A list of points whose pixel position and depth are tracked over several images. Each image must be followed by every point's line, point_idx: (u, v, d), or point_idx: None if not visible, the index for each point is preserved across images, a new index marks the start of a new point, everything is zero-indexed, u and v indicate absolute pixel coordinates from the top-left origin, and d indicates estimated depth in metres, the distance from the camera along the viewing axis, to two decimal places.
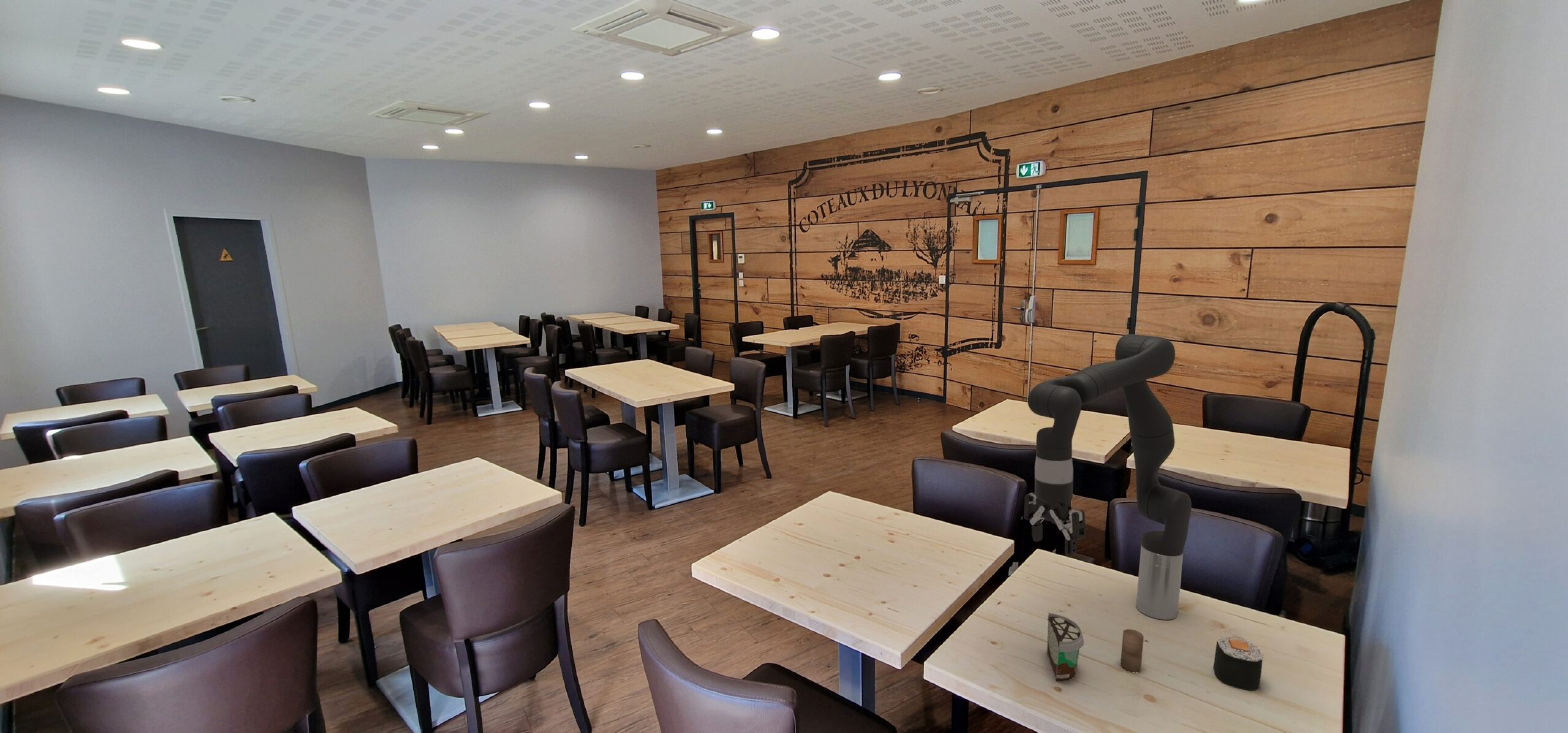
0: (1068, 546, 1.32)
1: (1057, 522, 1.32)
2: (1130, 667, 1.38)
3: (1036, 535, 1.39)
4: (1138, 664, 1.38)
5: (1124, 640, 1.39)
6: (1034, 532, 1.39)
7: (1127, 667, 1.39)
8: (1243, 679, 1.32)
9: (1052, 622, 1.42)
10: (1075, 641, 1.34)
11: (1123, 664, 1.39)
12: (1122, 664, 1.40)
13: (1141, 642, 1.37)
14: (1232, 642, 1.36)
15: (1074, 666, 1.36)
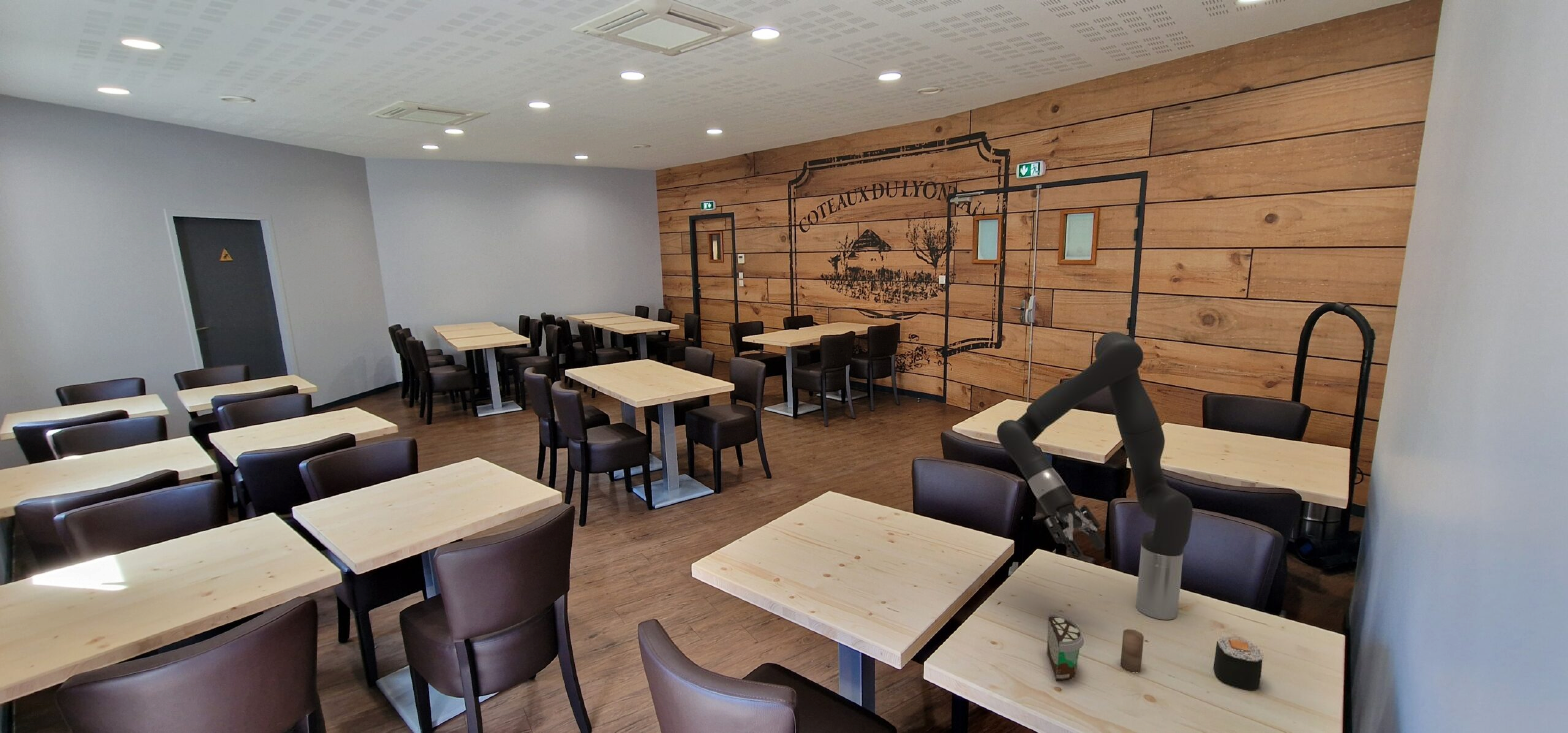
0: None
1: None
2: (1130, 667, 1.38)
3: (1094, 543, 1.49)
4: (1138, 664, 1.38)
5: (1124, 640, 1.39)
6: None
7: (1127, 667, 1.39)
8: (1243, 679, 1.32)
9: (1052, 622, 1.42)
10: (1075, 641, 1.34)
11: (1123, 664, 1.39)
12: (1122, 664, 1.40)
13: (1141, 642, 1.37)
14: (1232, 642, 1.36)
15: (1074, 666, 1.36)
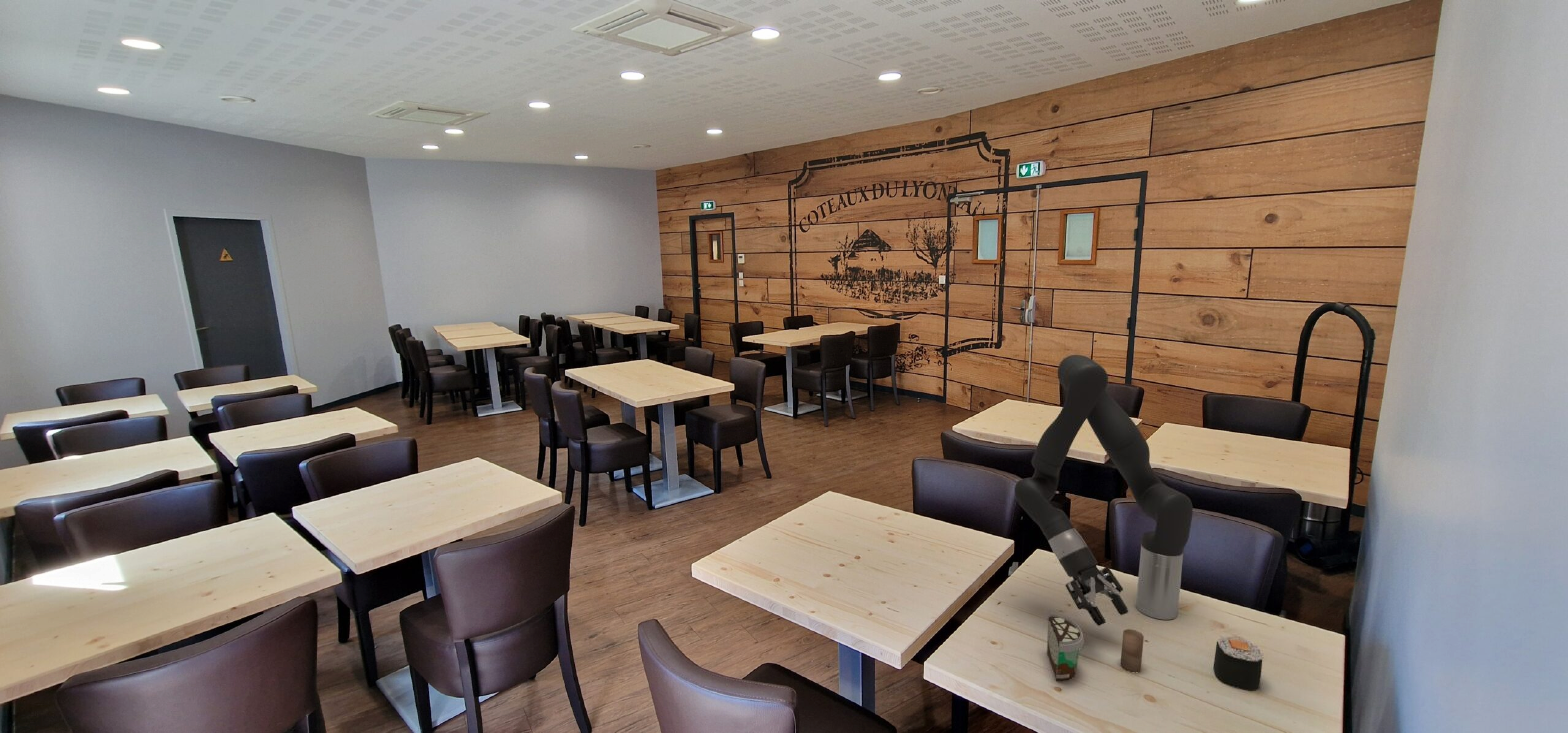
0: None
1: None
2: (1130, 667, 1.38)
3: (1116, 608, 1.46)
4: (1138, 664, 1.38)
5: (1124, 640, 1.39)
6: None
7: (1127, 667, 1.39)
8: (1243, 678, 1.32)
9: (1052, 622, 1.42)
10: (1075, 641, 1.34)
11: (1123, 664, 1.39)
12: (1122, 664, 1.40)
13: (1141, 642, 1.37)
14: (1232, 642, 1.36)
15: (1074, 666, 1.36)
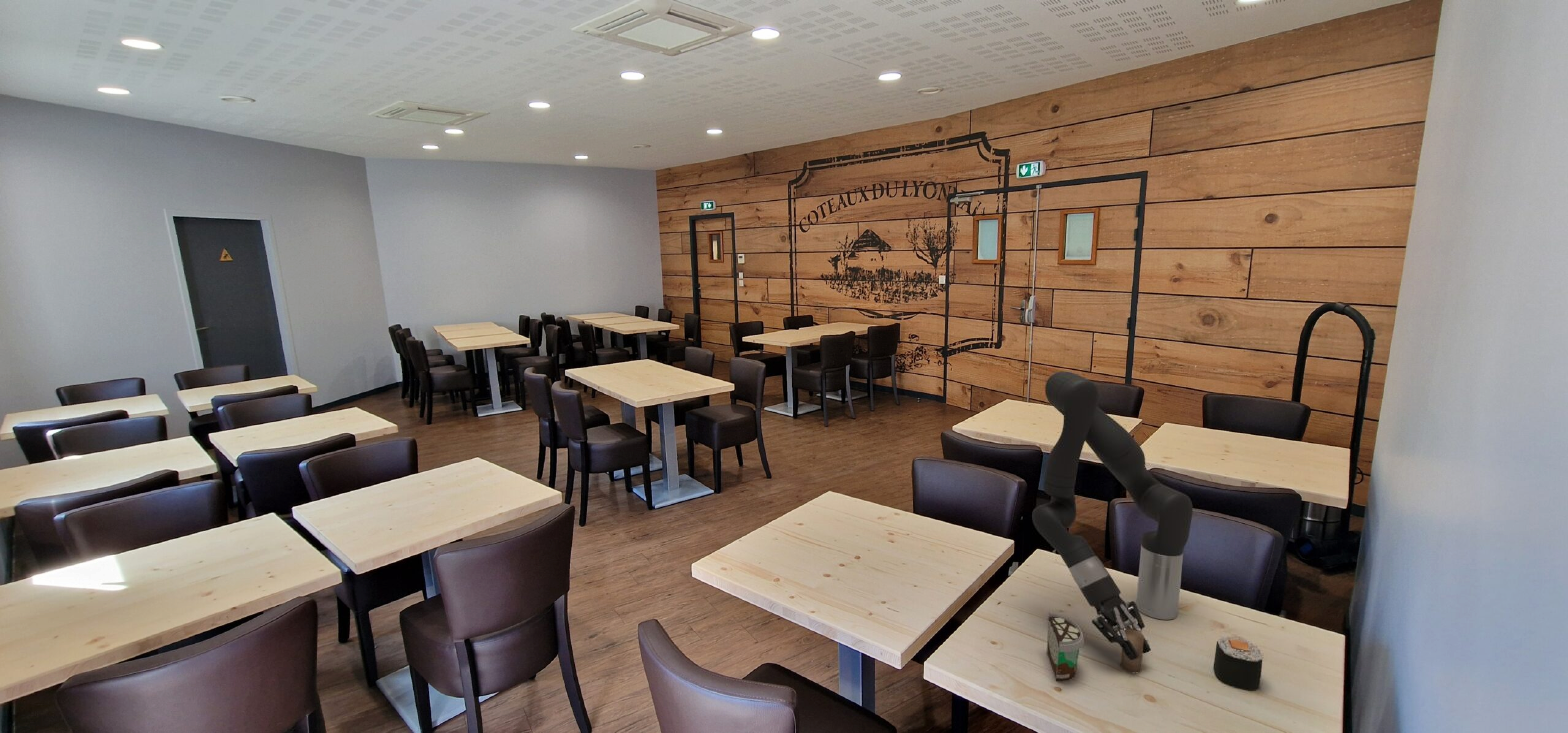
0: None
1: None
2: (1131, 667, 1.38)
3: None
4: (1138, 664, 1.38)
5: None
6: None
7: (1127, 667, 1.39)
8: (1243, 679, 1.32)
9: (1052, 622, 1.42)
10: (1075, 641, 1.34)
11: (1123, 664, 1.39)
12: (1122, 664, 1.40)
13: (1141, 642, 1.37)
14: (1232, 642, 1.36)
15: (1074, 666, 1.36)
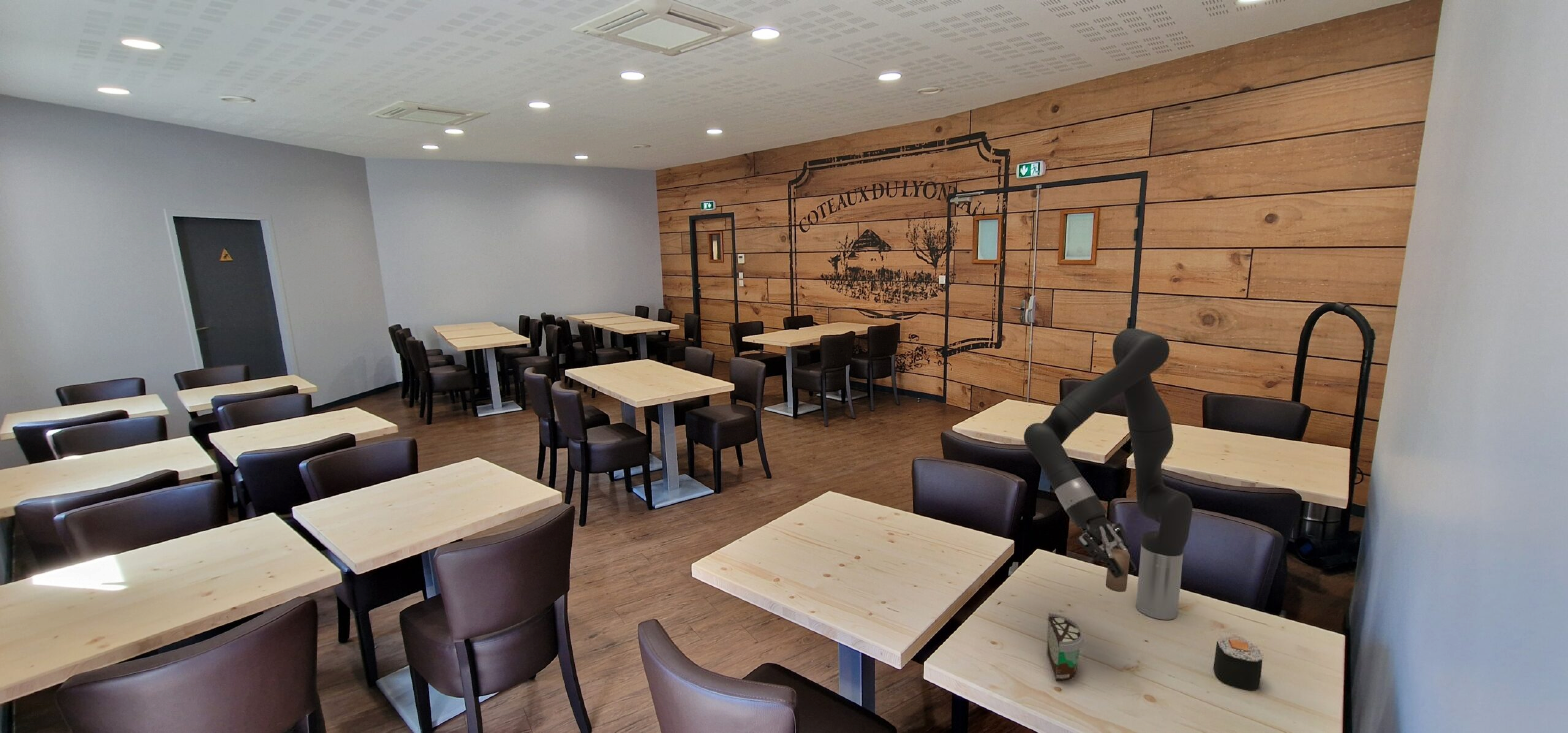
0: None
1: None
2: (1116, 585, 1.35)
3: None
4: (1124, 583, 1.34)
5: None
6: None
7: (1112, 586, 1.35)
8: (1243, 679, 1.32)
9: (1052, 622, 1.42)
10: (1075, 641, 1.34)
11: (1108, 583, 1.36)
12: (1107, 584, 1.36)
13: (1127, 560, 1.34)
14: (1232, 642, 1.36)
15: (1074, 666, 1.36)
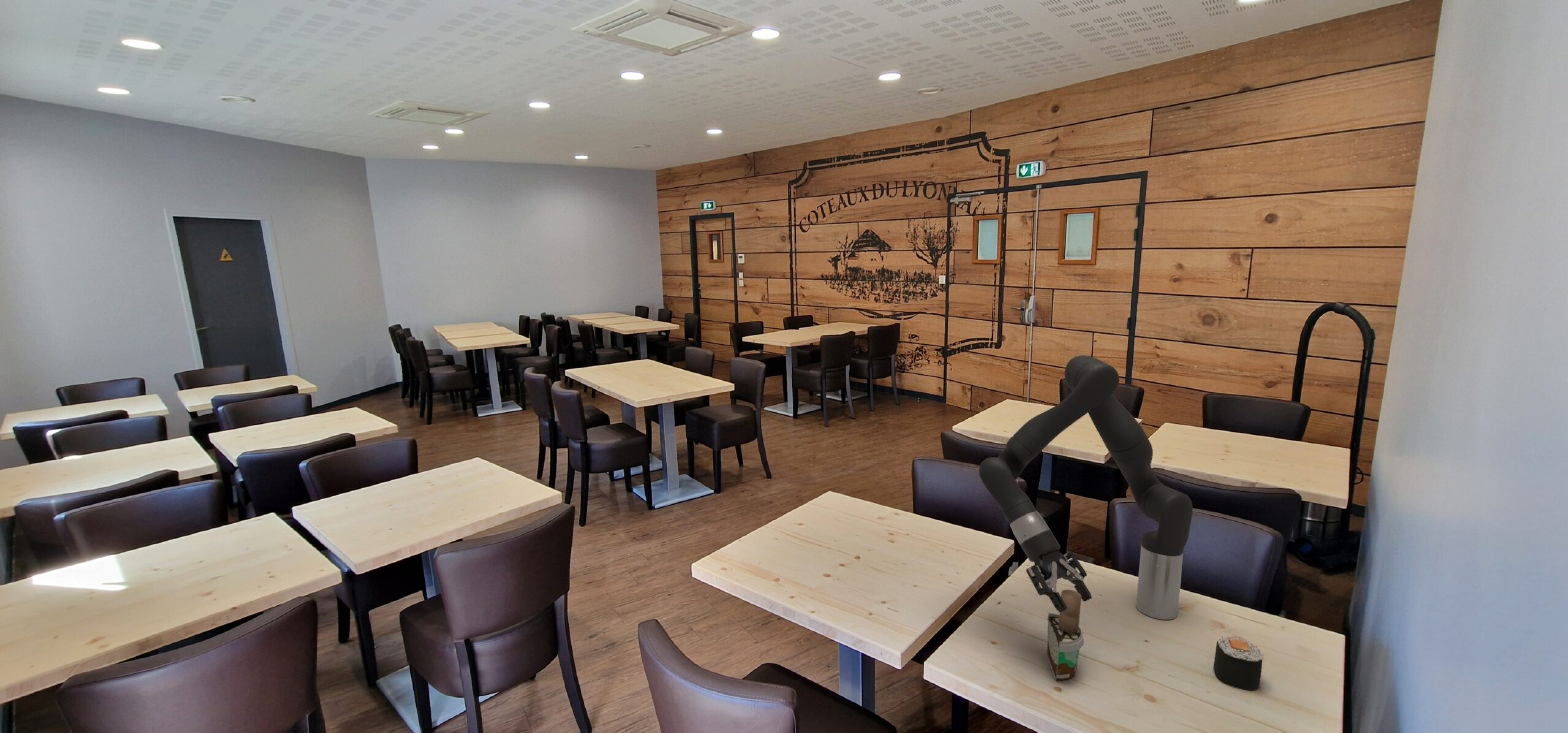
0: None
1: None
2: (1067, 627, 1.36)
3: (1080, 594, 1.39)
4: (1075, 624, 1.36)
5: None
6: None
7: (1064, 627, 1.36)
8: (1243, 679, 1.32)
9: (1052, 622, 1.42)
10: (1075, 641, 1.34)
11: (1060, 624, 1.37)
12: (1060, 625, 1.38)
13: (1078, 602, 1.35)
14: (1232, 642, 1.36)
15: (1074, 666, 1.36)
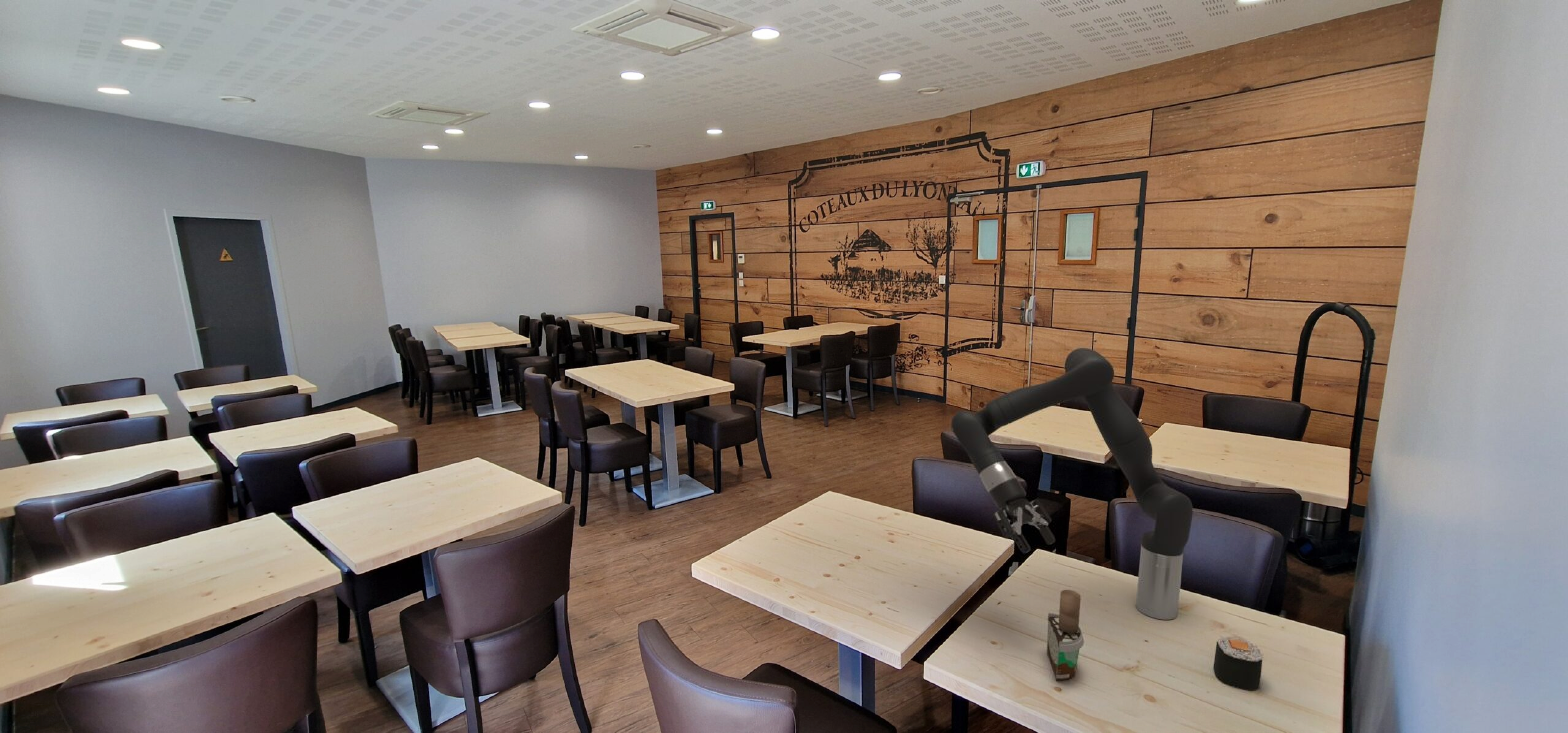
0: None
1: None
2: (1067, 627, 1.36)
3: (1044, 538, 1.46)
4: (1075, 624, 1.36)
5: (1061, 600, 1.37)
6: None
7: (1064, 628, 1.37)
8: (1243, 678, 1.32)
9: (1052, 622, 1.42)
10: (1075, 641, 1.34)
11: (1060, 624, 1.37)
12: (1059, 625, 1.38)
13: (1077, 602, 1.35)
14: (1232, 642, 1.36)
15: (1074, 666, 1.36)
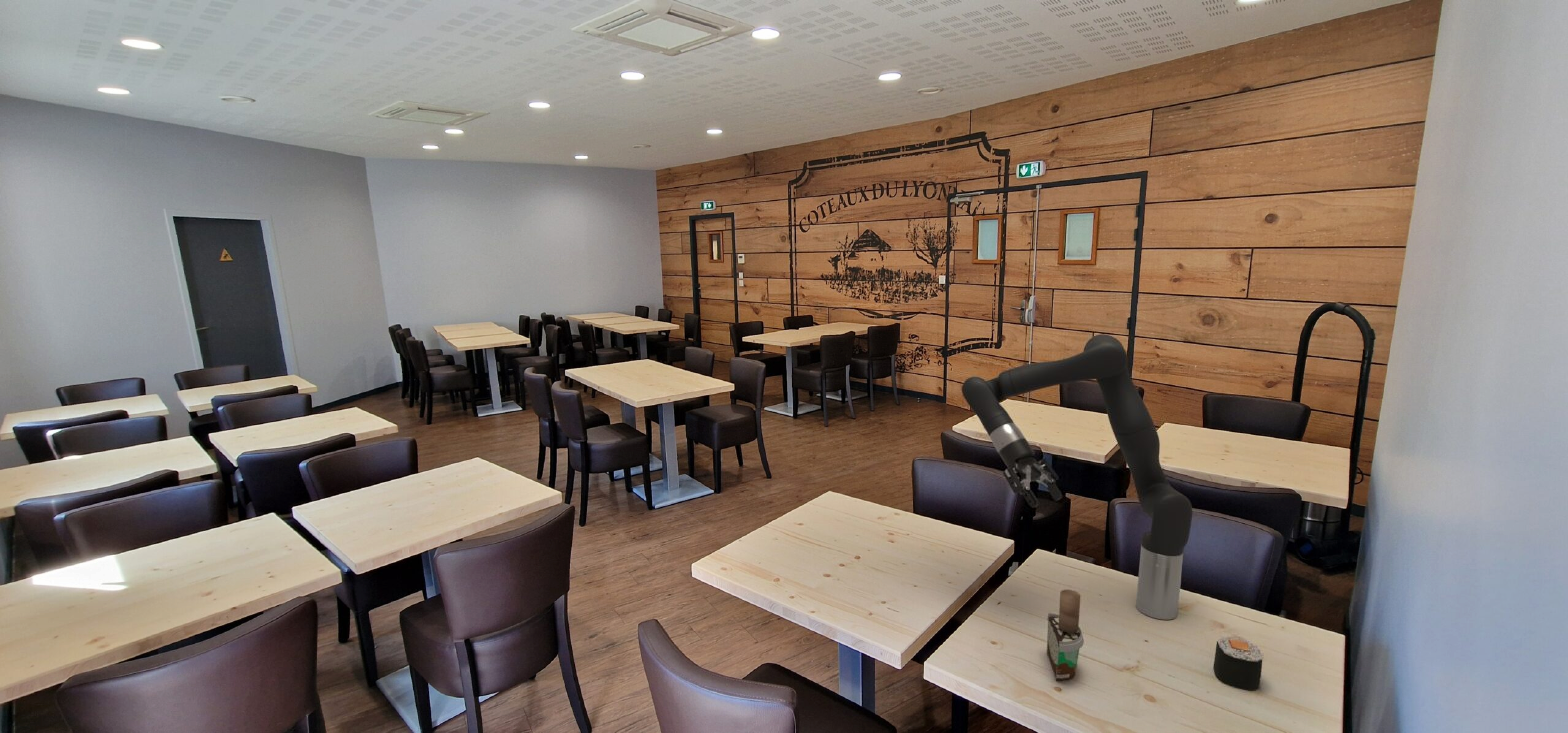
0: None
1: None
2: (1067, 627, 1.36)
3: (1052, 495, 1.54)
4: (1075, 624, 1.36)
5: (1061, 600, 1.37)
6: None
7: (1064, 627, 1.37)
8: (1243, 679, 1.32)
9: (1052, 622, 1.42)
10: (1075, 641, 1.34)
11: (1060, 624, 1.37)
12: (1059, 625, 1.38)
13: (1077, 601, 1.35)
14: (1232, 642, 1.36)
15: (1074, 666, 1.36)
